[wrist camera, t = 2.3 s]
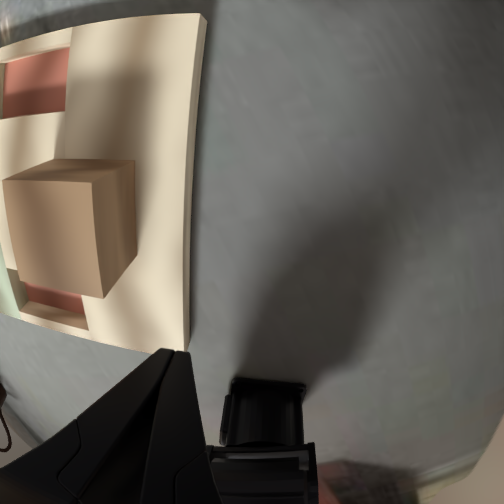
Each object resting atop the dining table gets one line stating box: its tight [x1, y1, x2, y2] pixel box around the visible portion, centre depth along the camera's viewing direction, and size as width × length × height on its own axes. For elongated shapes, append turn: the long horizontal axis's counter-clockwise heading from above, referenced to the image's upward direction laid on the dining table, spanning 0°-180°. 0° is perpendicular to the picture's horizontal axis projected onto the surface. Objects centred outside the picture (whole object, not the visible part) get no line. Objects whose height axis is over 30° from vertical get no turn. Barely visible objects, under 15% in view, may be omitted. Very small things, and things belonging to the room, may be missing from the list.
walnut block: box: [2, 159, 137, 299], centre depth 16 cm, size 6×6×5 cm
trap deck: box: [0, 13, 207, 354], centre depth 18 cm, size 25×23×4 cm
